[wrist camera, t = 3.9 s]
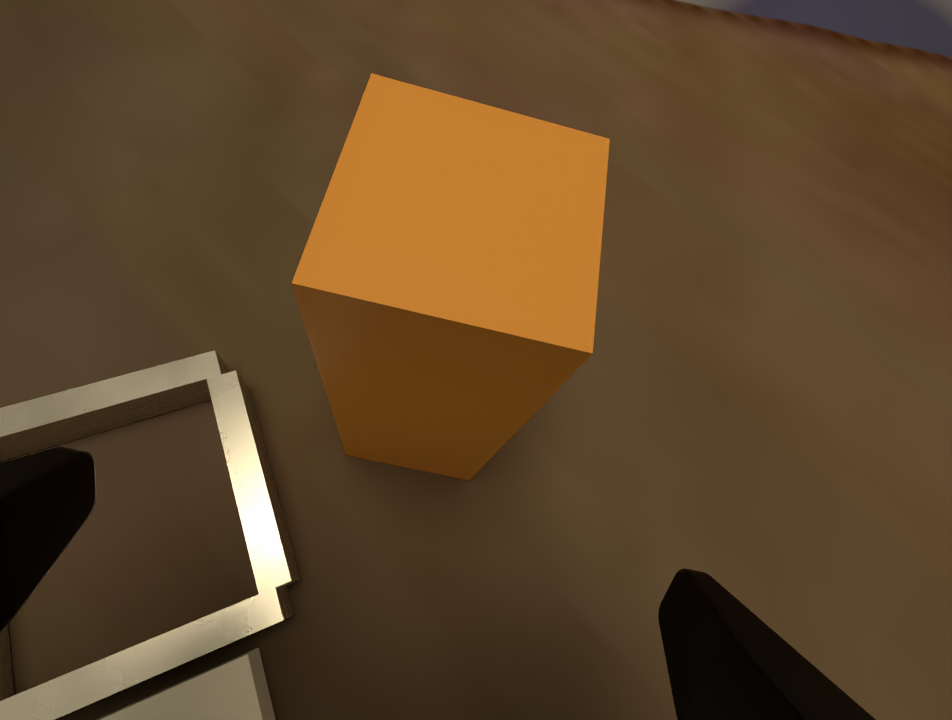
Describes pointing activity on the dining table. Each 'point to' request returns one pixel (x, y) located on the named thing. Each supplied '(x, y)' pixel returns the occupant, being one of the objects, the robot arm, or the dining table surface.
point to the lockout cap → (450, 275)
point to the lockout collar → (268, 542)
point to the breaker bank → (209, 695)
